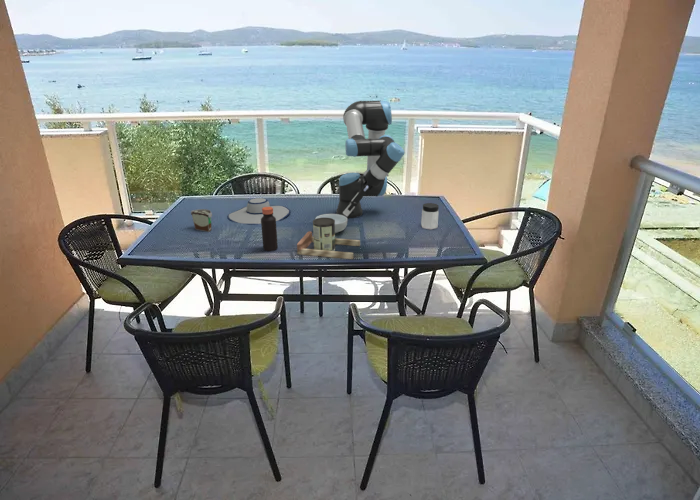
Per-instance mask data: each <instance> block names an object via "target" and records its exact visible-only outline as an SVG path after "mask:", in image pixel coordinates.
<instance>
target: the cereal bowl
mask: <svg viewBox="0 0 700 500" xmlns="http://www.w3.org/2000/svg"><path fill="white" fill-rule="evenodd" d="M317 218H332V219H334V220H335V234H338V233H339V232H342V231H344V230H345V229H346V227H347V225H348V218H347V217H345V216H343V215H339V214H336V213H323V214H320V215H317V216H316V217H315V219H317ZM315 219H314V220H315Z"/></svg>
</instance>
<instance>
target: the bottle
mask: <svg viewBox="0 0 700 500" xmlns="http://www.w3.org/2000/svg"><path fill="white" fill-rule="evenodd" d="M262 213H263V217H262V218H261V224H260V225H261V235H262V236H261V238H262V248H263V250H264V251H265V252H266V251H267V252H273V251H276V250H278V248H279V247H278V243H279V242H278V231H277V221H276V218H275V217H274V216H273V208H272V207H264V208H262Z"/></svg>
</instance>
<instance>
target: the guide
mask: <svg viewBox="0 0 700 500" xmlns="http://www.w3.org/2000/svg"><path fill="white" fill-rule="evenodd" d="M312 243H314V236H313V232H312V231H311V230H309V231H307V232H306V233H305V235H303V237H302V238H301V239H300V240H299V241H298V242H297V244H296V254H297V255H304V256H314V257H325V258H334V259H335V258H336V259H348V260H353V259H354V252H349V251H338V250H337V251H336V250H334V251H327V250H316V249H314V248H312V249H311V248H309V246H310V245H311V244H312ZM335 245H341V246H354V247H360V246H361V240H360V239H351V238H350V239H348V238H337V237H335Z"/></svg>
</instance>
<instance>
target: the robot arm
mask: <svg viewBox="0 0 700 500" xmlns="http://www.w3.org/2000/svg"><path fill="white" fill-rule="evenodd" d="M392 115H393V114H392V108H391V103H390V102H389V101H388V100H357V101H354V102H353V103H350V105H348V106H347V107H346V109H345V110H344V112H343V116H342V119H343V123H344V125H345V126H346V130H347V139H346V140H345V147H344V149H345V155H346V157H354V158H356V157H367V159H366V170H365V171H364V172H363V175H361V174H360V173H359V172H349V173H344V174H341V176H340V177H339V179H338V182H339V183H338V186H339V188H338V189H339V190H338V191H339V192H338V193H339V194H338V195H339V196H338V197H339V199H338V204H337V209H336V213H335V214H339V215H343V216H345V217H347V219H354V218H358V217H361V216H363V213H364V210H363V208H362V204H361V200H362V199H363V198H364V197H382V196H384V195H385V194H386V192H387V188H388V187H387V186H388V177H389V176H390V174H389V173H391V171H392V170H393V169H394V168H395V166H396V165H398V163H399V162H400V161H401V160H402V158H403V157H404V155H405V149H404V148H403V147H402V146H401V145H399V143H397V142H395V140H394V138H393V137H392V136H391V135H390V134H385V133H386V131H387V130H388V129H389V125H392V123H393V116H392ZM364 125H365V128H366V130H368V135H367V137H368V138H366V135H365V131H364V127H363V126H364Z"/></svg>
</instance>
